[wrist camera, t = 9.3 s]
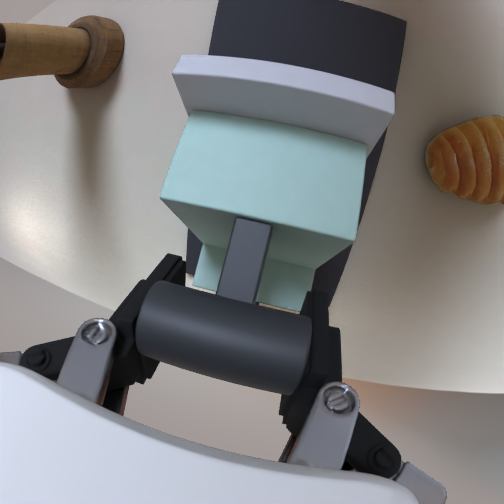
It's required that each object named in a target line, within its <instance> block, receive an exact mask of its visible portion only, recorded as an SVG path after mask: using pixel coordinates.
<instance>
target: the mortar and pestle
mask: <svg viewBox="0 0 504 504" xmlns="http://www.w3.org/2000/svg"><path fill="white" fill-rule="evenodd" d="M123 45H124V37H123V32H122V30H121V28H120V26H119V25H118V24H117V23H116V22H115V21H113V20H111V19H108V18H103V17H98V16H84V17H81V18H79V19H77V20H76V21H74V22H73V23H71V24H70V25H69V26H68V27H61V26H50V25H37V24H20V23H0V80H5V79H11V78H18V77H27V76H37V75H54V76H55V78H56V80H57V81H58V82H59V83H60V84H61V85H62V86H64V87H66V88H73V89H74V88H89V87H94V86H97V85H99V84H100V83H102V82H103V81H105V80H106V79H107V78H108V77H109V76H110V74H111V73H112V72H113V71H114V70H115V68H116V66H117V65H118V63H119V60H120V58H121V55H122V52H123Z"/></svg>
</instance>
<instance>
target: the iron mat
mask: <svg viewBox="0 0 504 504" xmlns="http://www.w3.org/2000/svg"><path fill="white" fill-rule="evenodd" d="M406 24H407V22H406V21H404V20H402V19H399V18H396V17H393V16H391V15H388V14H385V13H382V12H379V11H375V10H372V9H369V8H366V7H362V6H359V5H355V4H351V3H347V2H343V1H339V0H219V2H218V7H217V12H216V16H215V21H214V27H213V32H212V37H211V43H210V48H209V54H208V55H211V56H225V57H236V58H245V59H254V60H261V61H269V62H275V63H281V64H287V65H293V66H298V67H303V68H308V69H313V70H317V71H322V72H326V73H330V74H334V75H338V76H342V77H346V78H349V79H353V80H356V81H360V82H363V83H367V84H370V85H373V86H376V87H379V88H382V89H385V90H388V91H391V92H393V93H394V94H395V89H396V84H397V79H398V74H399V69H400V63H401V57H402V51H403V45H404V38H405V31H406ZM386 130H387V128H386V129H385V131H384V132H383V134H382V135H381V137H380V139H379V140H378V142H377V143H376V145H375V146H374V148H373V149H372V151H371V152H370V154H369V155H368V157H367V159H366V164H365V174H364V183H363V191H362V199H361V207H360V214H359V221H358V227H359V224H360V221H361V218H362V215H363V212H364V208H365V205H366V202H367V199H368V195H369V192H370V189H371V185H372V182H373V179H374V175H375V172H376V168H377V164H378V161H379V157H380V153H381V150H382V146H383V142H384V138H385V134H386ZM357 230H358V228H357ZM352 245H353V243H352V244H351V245H349V246H348V247H346V248H345V249H344V250H342V251H341V252H339V253H338V254H337V255H335V256H334V257H332V258H331V259H329V260H328V261H327V262H325V263H324V264H322V265H321V266H319V267H318V268H317V269H315V274H314V278H313V283H312V288H311V292H312V290H313V289H319V290H323V291H327V292H328V307H329V306H330V303H331V301H332V298H333V296H334V293H335V291H336V288H337V286H338V283H339V280H340V278H341V275H342V272H343V270H344V267H345V264H346V261H347V259H348V256H349V253H350V250H351V247H352ZM202 246H203V243H202V242H201V240H200V239H199V238H198V237H197V236H196V235H195V234H194V233H193V232H192V231H191V230H190V229H189V228H188V237H187V255H186V273H188V274H192V275H195V272H196V268H197V264H198V261H199V257H200V253H201V249H202Z"/></svg>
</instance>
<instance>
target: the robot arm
mask: <svg viewBox="0 0 504 504" xmlns="http://www.w3.org/2000/svg"><path fill="white" fill-rule="evenodd" d="M185 280H186V262H185V261H182V257H181V256H177V255H173V254H169V253H168V254H167V255H166V256H165V257H164V258H163V260H162V261H161V262H160V263H159V264H158V266H157V267H156V268H155V269H154V271H153V272H152V273H151V274H150V276H149V277H148V278H147V279H146V280H140V281H139V282H138V284H137V285H136V286H135V287H134V288H133V290H132V291H131V292H130V293H129V295H128V296H127V297H126V298H125V300H124V301H123V302H122V303H121V305H120V306H119V307H118V309H117V310H116V311H115V312H114V314H113V315H112V316H111V318H110V319H109V320H107V319H104V318H93V319H90V320H88V321H85V322H84V323H83V324H82V325H81V326H80V328H79V329H78V331H77V333H76V336H74V337H70V338H65V339H61V340H57V341H52V342H48V343H44V344H39V345H35V346H32V347H30V348H28V349H27V350H26V351H25V352H24V353H23V354H21V352H20V351H16V352H3V353H0V504H445V502H446V499H447V492H446V490H445V487H444V486H443V485H442V484H440V483H439V482H437V481H436V480H434V479H433V478H431V477H430V476H428V475H427V474H425V473H424V472H423V471H421V470H420V469H418V468H417V467H415V466H414V465H412V464H411V463H410V462H406V463H404V462H403V461H402V460H401V455H400V453H399V451H398V450H397V448H396V447H395V446H394V445H393V444H392V443H391V442H390V441H389V440H388V439H386V437H384V436H383V435H382V434H381V433H380V432H379V431H378V430H377V429H376V428H375V427H374V426H373V425H372V424H371V423H370V422H369V421H368V420H367V419H366V418H365V417H364V416H363V415H362V414H361V413H360V412H359V408H360V399H359V396H358V394H357V392H356V391H355V390H354V389H353V388H352V387H351V386H349V385H347V384H345V383H342V362H341V338H340V329H339V328H336V327H331V326H329V311H328V292H327V291H323V290H319V289H313V290H312V292H311V291H307V293H306V296H305V299H304V302H303V305H302V308H301V311H300V313H299V315H303V316H308V317H309V318H310V319H311V322H312V336H311V344H310V349H309V354H308V359H307V363H306V366H305V370H304V373H303V376H302V379H301V381H300V383H299V386H298V388H297V389H296V391H295V392H294V394H292V395H284V394H282V396H281V402H280V409H279V415H282V416H283V424H287V426H286V428H287V429H288V430H289V431H290V432H291V433H292V434H291V436H290V438H289V440H288V442H287V445H286V446H285V448H284V450H283V453H282V455H281V457H280V459H279V461H278V462H275V461H270V460H265V459H259V458H254V457H250V456H245V455H240V454H236V453H232V452H228V451H224V450H220V449H216V448H212V447H208V446H205V445H202V444H198V443H195V442H192V441H189V440H185V439H182V438H179V437H176V436H173V435H170V434H167V433H165V432H161V431H159V430H156V429H154V428H151V427H148V426H146V425H143V424H141V423H138V422H136V421H133V420H131V419H128V418H126V417H124V416H123V415H124V410H125V405H126V400H127V395H128V390H129V386H130V385H133V384H134V383H135V382H138V383H140V384H144V382H145V380H146V379H147V378H148V379H151V378H152V376H153V374H154V372H155V370H156V368H157V366H158V364H159V362H160V361H158V360H155V359H152V358H149V357H147V356H144V355H142V354H141V353H140V352H139V351H138V349H137V347H136V340H135V334H136V324H137V319H138V315H139V312H140V309H141V306H142V303H143V301H144V299H145V297H146V295H147V293H148V291H149V290H150V288H151V287H152V286H153V285H154V284H155V283H156V282H158V281H167V282H170V283H174V284H178V285H181V286H185Z"/></svg>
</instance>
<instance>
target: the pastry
mask: <svg viewBox="0 0 504 504" xmlns="http://www.w3.org/2000/svg"><path fill="white" fill-rule="evenodd" d="M425 152H426V165H427V168H428V170H429V173H430V176H431V179H432V180H433V181H434V183H435V184H436V185H437V186H438V187H439V189H440V190H441V191H444V192H447V193H451V194H454V195H456V196H457V197H459V198H462V199H469V200H472V201H476V202H479V203H481V204H491V203H495V202H498V201H500V202H501V203H502V204H504V118H503V117H501V116H497V115H494V116H490V117H480V118H475V119H472V120H469V121H467V122H464V123H461V124H459V125H456V126H454V127H451V128H448V129H446V130H444V131H442V132H440V133H439V134H437V135H436V136H435V137H434V138H433V139H432V140H431V141H430V142H429V144H428V146H427V148H426V151H425Z"/></svg>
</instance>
